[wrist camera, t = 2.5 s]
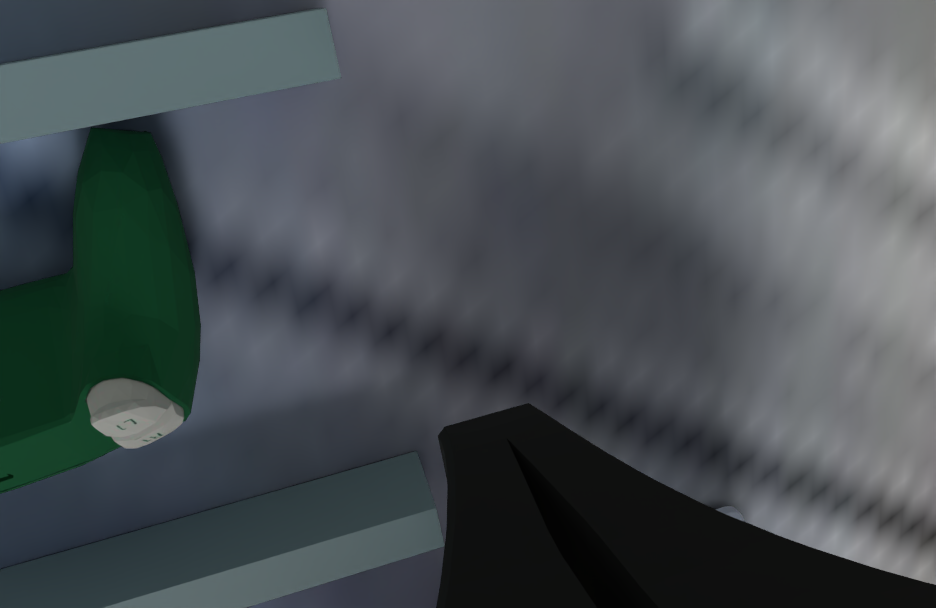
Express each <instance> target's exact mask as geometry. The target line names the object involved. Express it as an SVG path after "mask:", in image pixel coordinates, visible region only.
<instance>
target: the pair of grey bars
mask: <svg viewBox="0 0 936 608" xmlns="http://www.w3.org/2000/svg"><path fill="white" fill-rule="evenodd" d="M339 78H341V74H340V70H339V65H338V61H337V56H336V51H335V47H334V42H333V38H332V33H331V29H330V24H329V20H328V15H327V11H326V8H316V9H310V10H305V11H299V12H293V13H288V14H282V15H276V16H270V17H265V18H259V19H253V20H248V21H242V22H236V23H231V24H225V25H219V26H213V27H208V28H202V29H196V30H191V31H185V32H179V33H174V34H168V35H162V36H156V37H151V38H145V39H139V40H134V41H128V42H122V43H117V44H111V45H105V46H99V47H94V48H88V49H82V50H77V51H71V52H65V53H60V54H54V55H48V56H42V57H37V58H31V59H25V60H20V61H14V62H8V63H3V64H0V144H2V143H7V142H12V141H18V140H23V139H28V138H33V137H38V136H43V135H49V134H54V133H59V132H64V131H69V130H75V129H80V128H85V127H90V126H95V125H101V124H106V123H111V122H116V121H121V120H126V119H132V118H137V117H142V116H147V115H152V114H158V113H163V112H168V111H173V110H178V109H184V108H189V107H194V106H199V105H204V104H210V103H215V102H220V101H225V100H230V99H235V98H241V97H246V96H251V95H256V94H261V93H267V92H272V91H277V90H282V89H287V88H293V87H298V86H303V85H308V84H313V83H319V82H324V81H329V80H334V79H339ZM444 546H445V545H444V541H443V536H442V532H441V527H440V523H439V518H438V514H437V509H436V506H435V503H434V500H433V497H432V494H431V491H430V488H429V485H428V482H427V480H426V477H425V474H424V471H423V468H422V465H421V462H420V459H419V456H418V453H417V451H415V452H411V453H408V454H404V455H401V456H397V457H394V458H390V459H387V460H383V461H380V462H376V463H373V464H369V465H366V466H362V467H359V468H355V469H352V470H348V471H345V472H341V473H338V474H334V475H330V476H327V477H323V478H320V479H316V480H313V481H309V482H306V483H302V484H299V485H295V486H292V487H288V488H285V489H281V490H278V491H274V492H271V493H267V494H264V495H260V496H257V497H253V498H250V499H246V500H243V501H239V502H236V503H232V504H229V505H225V506H222V507H218V508H215V509H211V510H207V511H204V512H200V513H197V514H193V515H190V516H186V517H183V518H179V519H176V520H172V521H169V522H165V523H162V524H158V525H155V526H151V527H148V528H144V529H141V530H137V531H134V532H130V533H127V534H123V535H120V536H116V537H113V538H109V539H106V540H102V541H99V542H95V543H92V544H88V545H84V546H81V547H77V548H74V549H70V550H67V551H63V552H60V553H56V554H53V555H49V556H46V557H42V558H39V559H35V560H32V561H28V562H25V563H21V564H18V565H14V566H11V567H7V568H4V569H0V608H247V607H250V606H253V605H257V604H260V603H263V602H266V601H269V600H273V599H276V598H279V597H282V596H286V595H289V594H292V593H295V592H299V591H302V590H305V589H308V588H312V587H315V586H318V585H321V584H324V583H328V582H331V581H334V580H337V579H341V578H344V577H347V576H350V575H354V574H357V573H360V572H363V571H366V570H370V569H373V568H376V567H379V566H383V565H386V564H389V563H392V562H396V561H399V560H402V559H405V558H409V557H412V556H415V555H418V554H421V553H425V552H428V551H431V550H434V549H438V548H441V547H444Z"/></svg>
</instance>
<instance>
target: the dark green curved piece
mask: <svg viewBox="0 0 936 608" xmlns="http://www.w3.org/2000/svg"><path fill="white" fill-rule="evenodd" d="M200 332H201V323H200V315H199V306H198V297H197V289H196V280H195V272H194V268H193V264H192V260H191V256H190V252H189V248H188V244H187V240H186V236H185V232H184V228H183V224H182V220H181V216H180V212H179V208H178V204H177V201H176V198H175V195H174V192H173V189H172V186H171V183H170V180H169V177H168V174H167V171H166V169H165V166H164V163H163V160H162V157H161V155H160V152H159V150H158V148H157V146H156V144H155V141H154V139H153V137H152V135H151V133H150V132H147V131H144V132H139V131H128V130H117V129H106V128H94V127H93V128H92V127H91V129H90V132H89V136H88V139H87V142H86V146H85V149H84V153H83V156H82V160H81V163H80V166H79V170H78V175H77V183H76V191H75V200H74V209H73V267H72V268H71V269H70V270H69V271H68V272H67V273H65V274H61V275H57V276H53V277H49V278H45V279H41V280H38V281H34V282H30V283H26V284H22V285H18V286H15V287H11V288H8V289H4V290H1V291H0V494H1V493H4V492H7V491H11V490H14V489H17V488H20V487H23V486H26V485H28V484H31V483H34V482H37V481H40V480H43V479H45V478H48V477H51V476H54V475H57V474H59V473H62V472H65V471H68V470H71V469H74V468H76V467H79V466H82V465H84V464H86V463H88V462H90V461H93V460H95V459H97V458H99V457H101V456H103V455H105V454H107V453H108V452H110V451H113V450H115V449H117V448H119V447H124V448H125V449H136V448H139V447H142V446H145V445H148V444H150V443H152V442H154V441H156V440H158V439H160V438H162V437H164V436H165V435H167V434H169V433H171V432H173V431H174V430H175V429H176V428H178V427H179V426H180V425H181V424H182V422H184V421H186V419H187V418H188V416H189V415H190V413H191V408H192V402H193V396H194V390H195V385H196V379H197V373H198V367H199V361H200Z"/></svg>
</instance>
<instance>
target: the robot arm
mask: <svg viewBox="0 0 936 608" xmlns="http://www.w3.org/2000/svg"><path fill="white" fill-rule="evenodd" d="M438 439H439V443H440V448H441V453H442V458H443V462H444V467H445V472H446V477H447V484H448V499H447V530H446V541H445V549H444V558H443V567H442V576H441V583H440V589H439V595H438V601H437V607H436V608H936V585H934V584H930V583H925V582H922V581H918V580H915V579H911V578H908V577H904V576H901V575H897V574H893V573H890V572H886V571H883V570H879V569H876V568H873V567H869V566H866V565H863V564H860V563H857V562H854V561H851V560H848V559H845V558H842V557H839V556H835V555H832V554H829V553H826V552H823V551H820V550H817V549H814V548H811V547H808V546H805V545H803V544H800V543H797V542H794V541H791V540H789V539H786V538H783V537H781V536H778V535H775V534H773V533H770V532H768V531H766V530H763V529H761V528H758V527H756V526H753V525H751V524H748V523H746V522H744V518H743V515H742V514H741V513H740V512H739V511H738V510H737V509H736V508H735V507H732V506H725V507H721V508H718V509H713V508H711V507H708V506H706V505H704V504H702V503H700V502H698V501H696V500H694V499H692V498H690V497H688V496H686V495H684V494H682V493H680V492H678V491H676V490H674V489H672V488H670V487H668V486H666V485H664V484H662V483H660V482H658V481H656V480H654V479H652V478H650V477H648V476H647V475H645V474H643V473H641V472H639V471H637V470H636V469H634V468H632V467H631V466H629V465H627V464H625V463H624V462H622V461H620V460H618V459H617V458H615V457H613V456H612V455H610V454H608V453H607V452H605V451H603V450H602V449H600V448H598V447H597V446H595V445H593V444H592V443H590V442H589V441H587V440H586V439H584V438H582V437H581V436H579V435H578V434H576V433H574V432H573V431H571V430H570V429H568V428H567V427H565V426H564V425H562V424H560V423H559V422H557V421H556V420H554V419H553V418H551V417H550V416H548V415H547V414H545V413H543V412H542V411H540V410H539V409H537V408H535V407H534V406H532V405H531V404H529V403H528V404H524V405H521V406H517V407H513V408H510V409H506V410H503V411H499V412H496V413H492V414H488V415H485V416H481V417H478V418H474V419H471V420H467V421H464V422H460V423H456V424H453V425H449V426H446V427H444V428H443V430H442V431H441V433H440V434H439V435H438Z"/></svg>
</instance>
